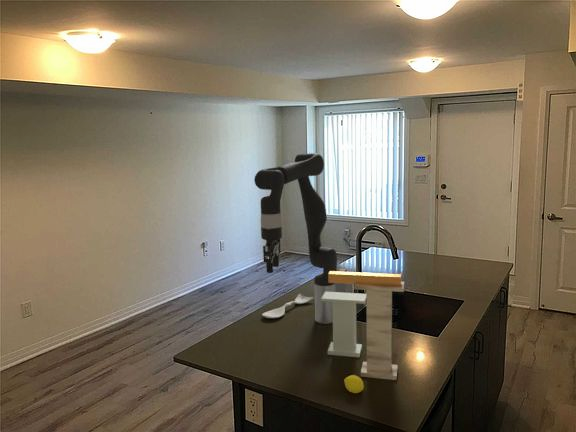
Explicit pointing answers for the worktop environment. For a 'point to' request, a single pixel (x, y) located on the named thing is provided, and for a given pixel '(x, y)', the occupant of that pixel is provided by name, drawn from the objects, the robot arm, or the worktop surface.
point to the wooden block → (364, 278)
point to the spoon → (281, 310)
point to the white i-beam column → (344, 323)
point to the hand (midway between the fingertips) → (272, 269)
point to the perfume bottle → (343, 285)
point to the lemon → (354, 384)
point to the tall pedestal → (379, 331)
